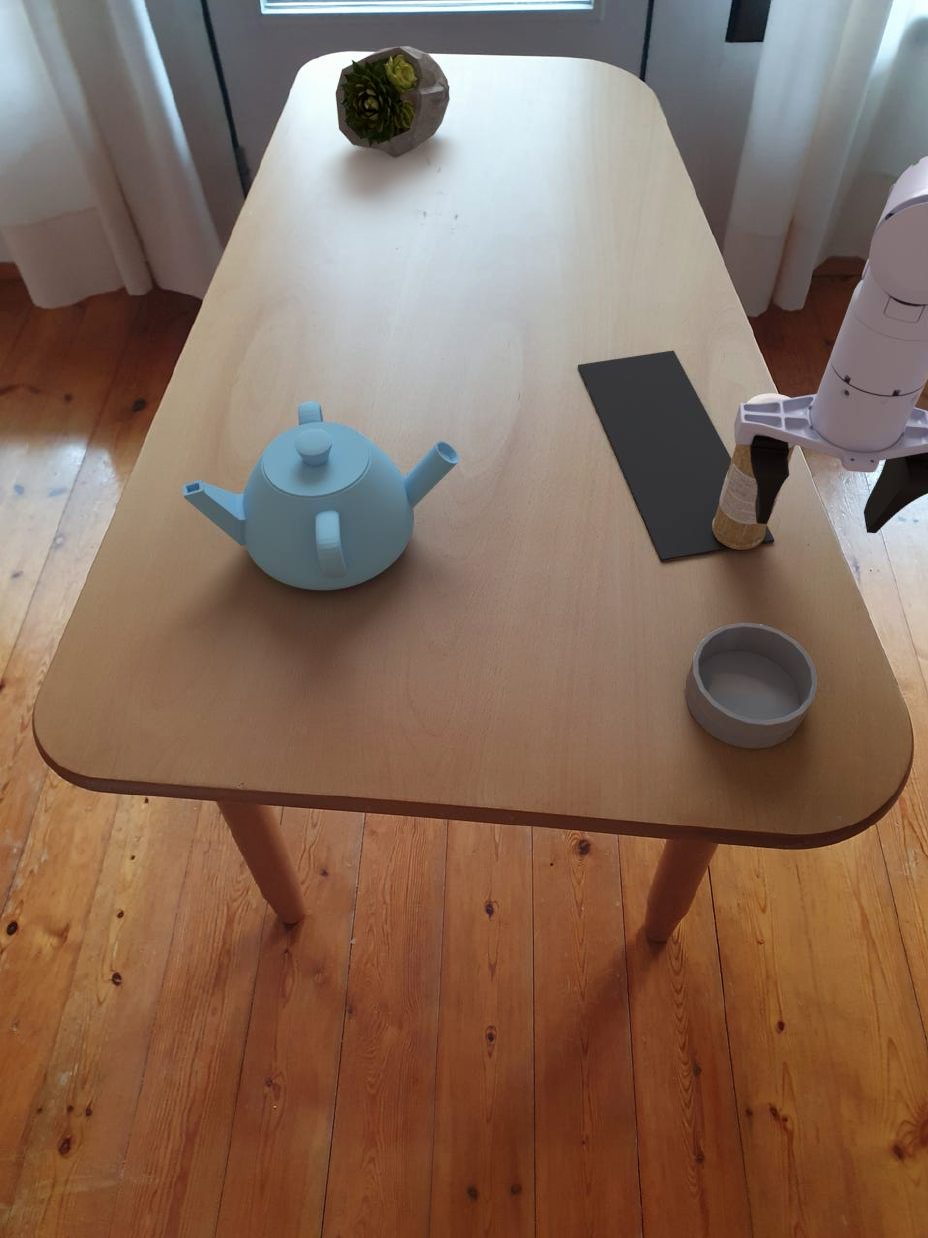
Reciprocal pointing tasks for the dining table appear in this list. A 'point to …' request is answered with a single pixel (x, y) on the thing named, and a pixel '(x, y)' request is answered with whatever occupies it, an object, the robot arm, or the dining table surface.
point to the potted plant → (392, 100)
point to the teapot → (323, 504)
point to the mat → (663, 449)
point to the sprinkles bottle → (742, 497)
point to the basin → (750, 685)
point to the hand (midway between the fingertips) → (815, 518)
